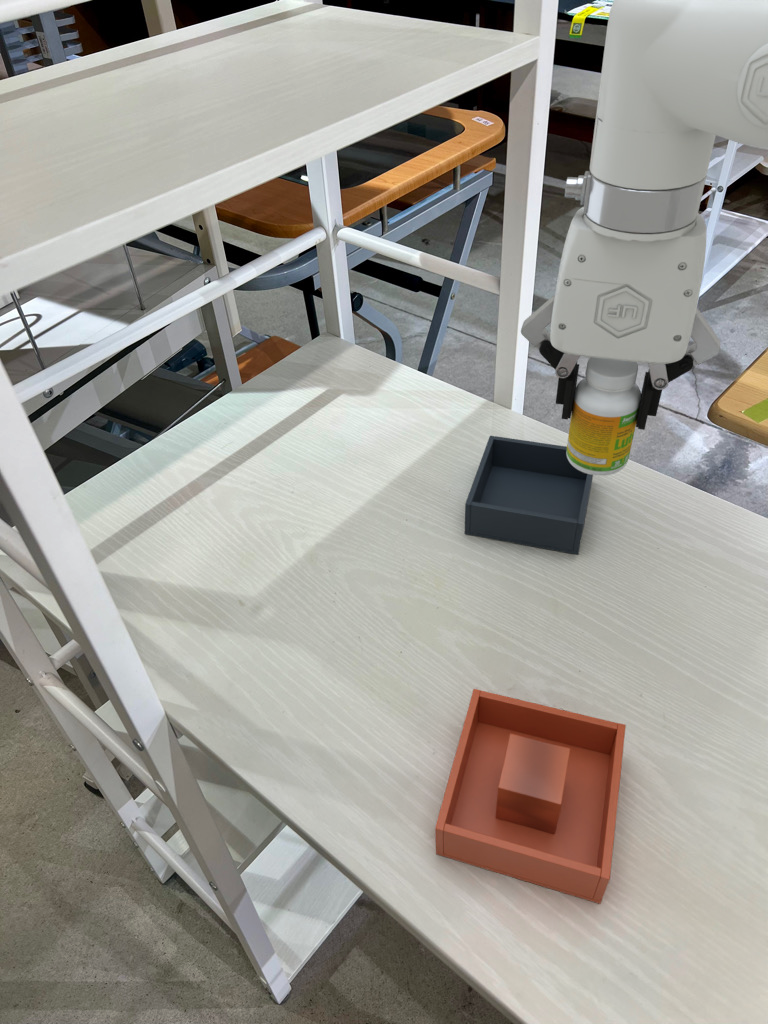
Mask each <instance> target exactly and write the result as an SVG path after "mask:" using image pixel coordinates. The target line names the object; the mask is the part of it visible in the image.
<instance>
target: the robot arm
mask: <svg viewBox="0 0 768 1024" xmlns="http://www.w3.org/2000/svg"><path fill="white" fill-rule="evenodd" d="M608 14H609V15H608V20H607V25H606V26H607V27H606V34H605V40H604V41H605V42H604V50H603V57H602V66H601V72H600V80H599V81H600V82H599V89H598V90H599V91H598V97H597V106H596V113H595V120H594V121H595V122H594V129H593V138H592V144H591V153H590V162H589V170H585V172H584V175H583V174H582V175H580V174H579V175H578V177H573V176H567V178H566V182H565V187H564V188H565V189H564V198H568V199H569V198H571V199H574V200H575V201H580V206H582V207H580V208H579V209H578V210H577V211H576V212H575V214H574V215H573V216H572V219H571V222H570V225H569V228H568V231H567V233H566V237H565V241H564V245H563V249H562V253H561V258H560V263H559V267H558V274H557V278H556V279H557V280H556V285H555V291H554V295H552V296H551V297H550V298H549V299H548V300H546V302H544V303H543V304H542V305H541V306H539V307H538V308H537V309H536V310H535V311H534V312H532V313H531V314H530V315H529V316H528V317H526V318H525V319H524V320H523V322H522V325H521V328H520V334H521V335H522V336H523V337H524V338H525V339H526V341H528V342H529V343H530V344H531V345H532V346H533V347H534V348H536V349H537V350H538V352H539V354H540V356H542V357H543V358H544V360H546V362H547V363H548V364H549V365H550V366H551V367H552V368H553V369H554V373H555V376H556V377H557V379H558V380H557V387H556V396H555V405H562V411H561V420H567V421H568V419H571V414H572V407H573V400H574V394H575V389H576V387H577V385H578V378H579V370H580V364H579V363H578V361H579V359H580V358H581V357H586V358H587V357H588V358H591V357H595V358H604V359H613V360H622V361H632V362H637V363H642V364H647V365H648V371H645V373H644V378H643V383H642V387H641V402H640V407H639V411H638V416H637V421H636V427H635V428H637V429H638V430H643V431H645V429H646V424H647V421H648V417H657V414H658V410H659V405H660V401H661V397H662V392H663V390H665V389H666V388H668V386H669V383H671V382H673V381H674V380H676V379H677V378H679V377H681V376H683V375H685V374H686V373H688V372H689V371H691V370H692V369H693V368H694V367H696V366H697V365H701V364H703V363H705V362H707V361H708V360H711V359H712V358H714V357H717V356H718V355H719V354H720V352H721V340H720V338H719V336H718V335H717V333H716V332H715V331H714V330H713V328H712V327H711V326H710V324H709V322H708V320H706V318H705V316H704V315H703V313H702V312H701V311H700V309H699V308H698V303H699V298H700V293H701V288H702V281H703V276H704V269H705V263H706V252H707V251H706V250H707V224H706V221H705V217H704V216H702V214H700V213H699V210H700V207H701V206H700V205H701V201H702V198H703V194H704V188H705V184H706V180H707V173H708V171H709V166H710V162H711V158H712V153H713V149H714V145H715V140H716V136H717V137H719V138H723V139H726V140H728V141H732V142H735V143H737V144H741V145H744V146H747V147H751V148H756V149H761V150H768V0H613V1H612V3H611V7H610V10H609V13H608ZM548 325H550V331H549V330H548V329H547V328H546V327H548ZM691 339H692V340H693V343H692V344H690V345H689V343H690V340H691Z"/></svg>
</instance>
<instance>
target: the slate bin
mask: <svg viewBox="0 0 768 1024" xmlns="http://www.w3.org/2000/svg"><path fill="white" fill-rule="evenodd" d="M566 451H567V445H557V444H551V443H545V442H544V443H543V442H539V441H538V442H537V441H530V440H524V439H517V438H510V437H503V436H497V435H489V437H488V439H487V442H486V446H485V448H484V450H483V454H482V456H481V459H480V461H479V464H478V467H477V471H476V473H475V475H474V479H473V481H472V483H471V487H470V489H469V493H468V495H467V498H466V501H465V503H464V535H466V536H467V535H468V536H472V537H478V538H484V539H488V540H495V541H500V542H505V543H510V544H517V545H520V546H521V545H522V546H527V547H532V548H533V547H534V548H538V549H543V550H549V551H554V552H559V553H560V552H561V553H565V554H570V555H576V556H577V555H578V556H579V554H580V553H579V552H580V548H581V543H582V538H583V537H582V536H583V532H584V527H585V521H586V516H587V511H588V506H589V500H590V495H591V489H592V484H593V479H594V475H591V474H587V473H584V472H581V471H579V470H577V469H576V468H574V467H573V466H572V465H571V464H570V462H569V461H568V458H567V454H566Z"/></svg>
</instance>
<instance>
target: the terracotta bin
mask: <svg viewBox="0 0 768 1024" xmlns="http://www.w3.org/2000/svg"><path fill="white" fill-rule="evenodd" d="M626 727H627V725H626V724H625V723H620V722H616V721H611V720H606V719H602V718H598V717H595V716H590V715H585V714H581V713H578V712H577V713H576V712H573V711H569V710H565V709H560V708H557V707H552V706H548V705H543V704H539V703H536V702H531V701H527V700H523V699H519V698H516V697H515V698H514V697H510V696H506V695H501V694H497V693H494V692H489V691H486V690H481V689H477V688H473V690H472V693H471V697H470V701H469V704H468V708H467V711H466V715H465V718H464V723H463V726H462V730H461V733H460V737H459V740H458V743H457V748H456V751H455V754H454V757H453V762H452V765H451V769H450V771H449V776H448V780H447V784H446V786H445V791H444V794H443V798H442V802H441V806H440V809H439V813H438V816H437V820H436V824H435V827H434V836H435V854H436V856H437V855H438V856H441V857H444V858H448V859H451V860H454V861H457V862H461V863H464V864H467V865H470V866H474V867H477V868H480V869H484V870H487V871H490V872H493V873H497V874H500V875H504V876H507V877H509V878H514V879H516V880H519V881H522V882H523V881H524V882H527V883H530V884H534V885H537V886H540V887H544V888H547V889H550V890H553V891H557V892H560V893H563V894H567V895H570V896H572V897H576V898H579V899H583V900H586V901H589V902H592V903H597V904H598V905H599V904H602V901H603V898H604V895H605V893H606V890H607V888H608V885H609V882H610V881H611V880H610V879H611V871H612V861H613V853H614V852H613V851H614V843H615V842H614V841H615V834H616V823H617V814H618V806H619V805H618V802H619V795H620V785H621V776H622V767H623V765H622V764H623V757H624V756H623V755H624V746H625V735H626ZM510 734H514V735H518V736H522V737H526V738H530V739H534V740H538V741H542V742H546V743H550V744H554V745H558V746H562V747H566V748H569V749H570V755H569V762H568V768H567V774H566V780H565V787H564V793H563V799H562V805H561V810H560V814H559V819H558V823H557V828H556V832H555V834H551V833H547V832H544V831H540V830H537V829H533V828H530V827H526V826H523V825H519V824H515V823H512V822H508V821H505V820H501V819H498V818H496V817H495V815H496V804H497V793H498V785H499V781H500V776H501V772H502V767H503V763H504V759H505V754H506V750H507V745H508V741H509V736H510Z"/></svg>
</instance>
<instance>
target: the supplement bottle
mask: <svg viewBox="0 0 768 1024" xmlns="http://www.w3.org/2000/svg"><path fill="white" fill-rule="evenodd" d="M586 363H587V364H586V368H585V377H583V378H582V379H580V381H579V382H577V385H576V389H575V394H574V400H573V407H572V413H571V417H570V422H569V429H568V437H567V444H566V447H567V451H566V454H567V458H568V461H569V462H570V464H571V465H572V466H573V467H574V468H576V469H577V470H579V471H581V472H584V473H587V474H591V475H593V476H599V477H600V476H602V477H604V476H610V475H614V474H617V473H619V472H621V471H622V470H623V469H624V468H626V466H627V464H628V462H629V459H630V455H631V450H632V444H633V440H634V437H635V436H634V435H635V433H636V432H635V431H636V428H637V427H636V421H637V416H638V411H639V407H640V402H641V392H642V390H641V389H640V387H639V386H638V384H637V383H636V382H637V377H638V373H639V372H638V371H639V364H638V362H632V361H622V360H613V359H604V358H595V357H589V359H588V360H587V362H586Z"/></svg>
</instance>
